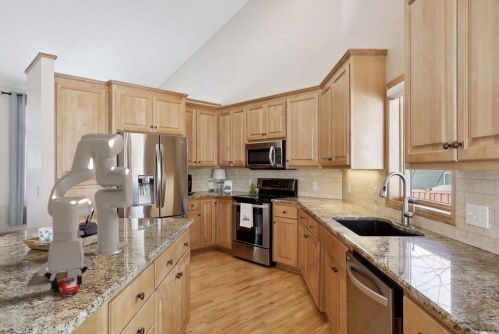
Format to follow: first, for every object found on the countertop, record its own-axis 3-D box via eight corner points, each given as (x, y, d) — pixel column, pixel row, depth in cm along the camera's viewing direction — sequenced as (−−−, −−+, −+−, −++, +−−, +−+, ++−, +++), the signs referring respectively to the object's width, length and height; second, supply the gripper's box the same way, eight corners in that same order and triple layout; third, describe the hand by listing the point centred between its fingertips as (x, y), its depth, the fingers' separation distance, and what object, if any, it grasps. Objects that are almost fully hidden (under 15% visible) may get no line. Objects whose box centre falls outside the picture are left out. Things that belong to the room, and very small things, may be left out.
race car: (54, 286, 101) (54, 275, 101) (72, 282, 104) (72, 271, 104) (60, 299, 91) (60, 287, 91) (80, 294, 94) (79, 282, 94)
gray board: (78, 266, 121) (78, 264, 121) (75, 282, 105) (75, 280, 105) (37, 272, 115) (37, 270, 115) (27, 290, 98) (27, 288, 98)
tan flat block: (70, 267, 118) (70, 259, 118) (67, 279, 105) (67, 270, 105) (44, 271, 114) (44, 263, 114) (37, 284, 101) (37, 275, 101)
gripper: (95, 230, 104) (95, 279, 105) (36, 237, 96) (38, 290, 97) (94, 235, 98) (95, 287, 98) (32, 242, 90) (33, 299, 90)
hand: (67, 288), depth 97 cm, fingers closed on race car, 6 cm apart
